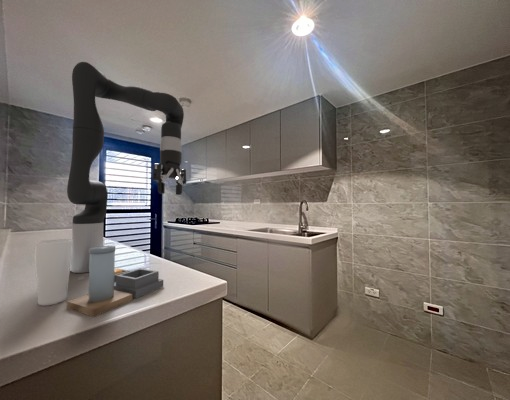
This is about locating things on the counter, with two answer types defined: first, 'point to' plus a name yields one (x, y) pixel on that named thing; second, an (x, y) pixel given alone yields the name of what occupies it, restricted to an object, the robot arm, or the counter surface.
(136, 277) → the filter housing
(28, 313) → the counter surface
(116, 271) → the button
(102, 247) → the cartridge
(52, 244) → the drinking glass
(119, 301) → the walnut board
